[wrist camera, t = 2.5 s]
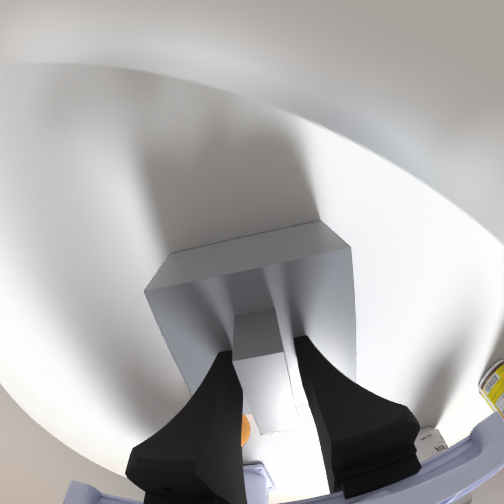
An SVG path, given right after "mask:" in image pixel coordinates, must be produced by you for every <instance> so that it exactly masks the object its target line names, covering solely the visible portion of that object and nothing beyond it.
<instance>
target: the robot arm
mask: <svg viewBox="0 0 504 504" xmlns="http://www.w3.org/2000/svg"><path fill="white" fill-rule="evenodd" d="M293 340H294V346H295V351H296V357H297V363H298V368H299V373H300V377H301V382H302V386H303V389H304V392H305V395H306V398H307V401H308V404H309V407H310V410H311V413H312V415H313V418H314V421H315V424H316V428H317V432H318V436H319V441H320V445H321V450H322V455H323V460H324V464H325V469H326V474H327V479H328V485H329V490H330V494H328V495H324V496H320V497H315V498H310V499H305V500H299V501H293V502H286V503H279V504H452V503H454V502H455V501H457V500H459V499H460V498H462V497H463V496H465V495H466V494H468V493H469V492H471V491H472V490H474V489H475V488H477V487H478V486H480V485H481V484H482V483H484V482H485V481H487V480H488V479H489V478H491V477H492V476H493V475H494V474H496V473H497V472H498V471H499V470H500V469H501V468H502V467H503V466H504V419H503V418H502V417H501V415H500V414H499V413H498V411H495V412H494V413H493V414H491V415H490V416H488V417H487V418H486V419H484V420H483V421H481V422H480V423H478V424H477V425H476V426H475V427H474V428H473V430H472V431H471V433H470V435H469V436H468V437H466V438H465V439H463V440H461V441H460V442H458V443H456V444H455V445H453V446H451V447H449V448H447V449H446V450H444V451H442V452H440V453H438V454H436V455H434V456H432V457H430V458H428V459H426V460H424V461H422V462H419V460H418V457H417V455H416V452H417V449H416V447H415V445H414V442H415V440H416V438H417V435H418V433H419V431H420V425H419V423H418V421H417V419H416V417H415V416H414V415H413V413H412V412H411V411H410V410H409V409H408V407H407V406H404V405H401V404H398V403H395V402H392V401H389V400H387V399H384V398H382V397H380V396H378V395H376V394H374V393H372V392H370V391H368V390H366V389H365V388H363V387H361V386H360V385H358V384H356V383H355V382H353V381H352V380H351V379H349V378H348V377H347V376H345V375H344V374H343V373H342V372H340V371H339V370H338V369H337V368H336V367H335V366H334V365H332V364H331V363H330V362H329V361H328V360H327V359H326V358H325V357H324V356H323V354H322V353H321V352H320V351H319V350H318V349H317V348H316V346H315V345H314V344H313V342H312V341H311V339H310V338H309V336H307V335H304V336H300V337H295V338H293ZM242 415H243V389H242V387H241V384H240V381H239V379H238V376H237V373H236V371H235V368H234V365H233V362H232V350H228V351H222V352H219V353H218V354H217V356H216V358H215V360H214V362H213V364H212V365H211V367H210V369H209V371H208V373H207V374H206V376H205V378H204V379H203V381H202V383H201V384H200V386H199V387H198V389H197V390H196V392H195V393H194V395H193V396H192V397H191V399H190V400H189V401H188V403H187V404H186V405H185V406H184V407H183V409H182V410H181V411H180V412H179V413H178V414H177V415H176V416H175V417H174V418H173V419H172V420H171V421H170V422H169V423H168V424H167V425H165V426H164V427H163V428H162V429H161V430H159V431H158V432H157V433H155V434H154V435H153V436H151V437H150V438H148V439H147V440H145V441H144V442H142V443H140V444H139V445H137V446H135V447H134V448H133V449H132V451H131V454H130V457H129V461H128V464H127V468H126V472H125V474H126V476H127V478H128V479H129V480H130V481H131V482H133V483H134V484H135V485H137V486H138V487H139V488H141V489H142V490H143V491H145V492H146V493H145V497H144V502H142V501H137V500H132V499H126V498H121V497H117V496H113V495H108V494H104V493H101V492H100V491H99V490H98V489H96V488H95V487H93V486H91V485H89V484H86V483H82V482H79V481H76V480H71V482H70V485H69V488H68V491H67V493H66V496H65V499H64V502H63V504H269V497H268V491H274V490H275V486H274V485H273V483H272V481H271V479H270V477H269V475H268V473H267V472H266V470H265V468H264V466H263V465H261V464H257V465H247V466H243V461H242V446H241V432H242Z"/></svg>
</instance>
